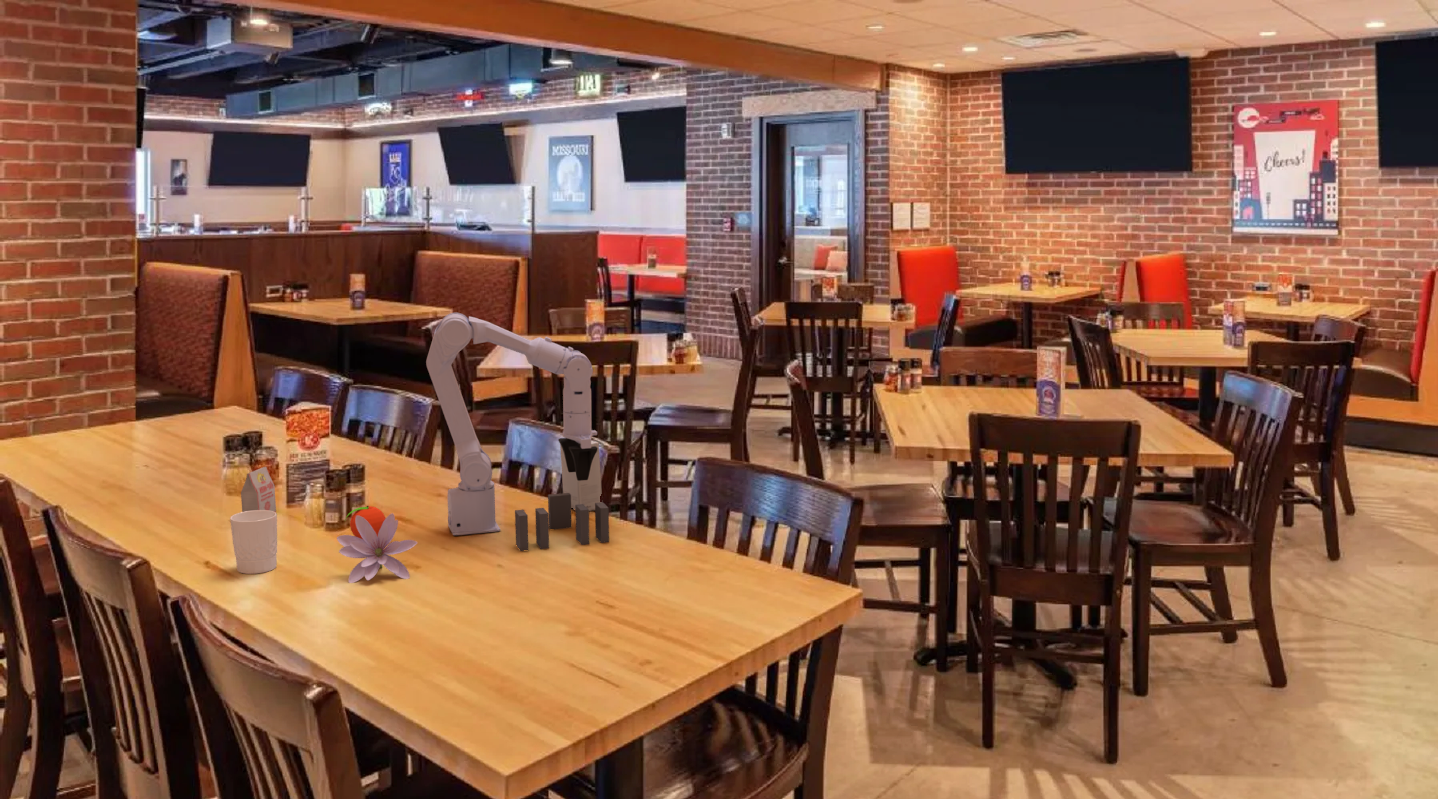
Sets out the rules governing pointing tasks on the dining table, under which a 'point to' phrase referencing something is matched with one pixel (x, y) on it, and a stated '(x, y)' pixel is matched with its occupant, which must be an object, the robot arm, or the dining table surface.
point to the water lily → (375, 549)
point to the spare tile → (559, 511)
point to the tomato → (371, 515)
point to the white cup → (255, 540)
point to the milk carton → (258, 491)
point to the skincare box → (583, 483)
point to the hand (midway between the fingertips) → (577, 475)
